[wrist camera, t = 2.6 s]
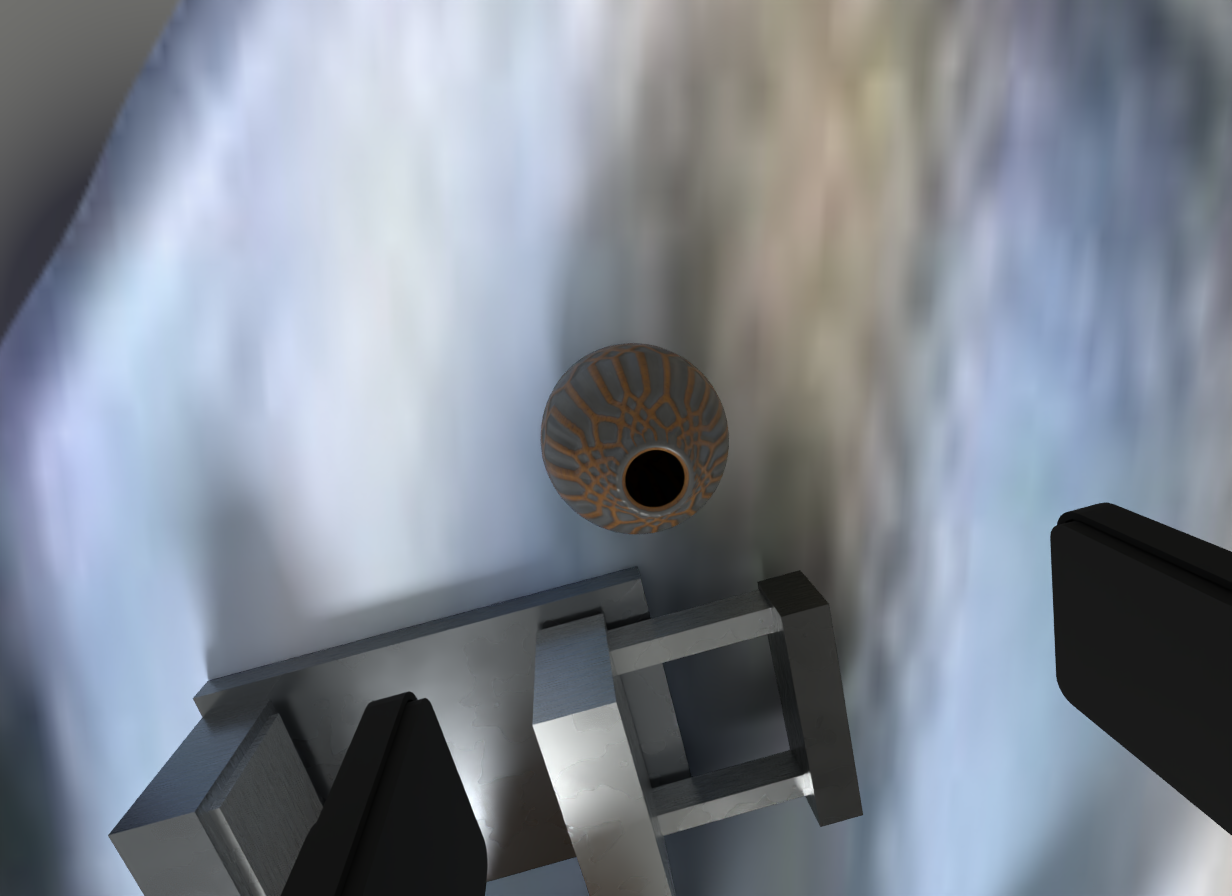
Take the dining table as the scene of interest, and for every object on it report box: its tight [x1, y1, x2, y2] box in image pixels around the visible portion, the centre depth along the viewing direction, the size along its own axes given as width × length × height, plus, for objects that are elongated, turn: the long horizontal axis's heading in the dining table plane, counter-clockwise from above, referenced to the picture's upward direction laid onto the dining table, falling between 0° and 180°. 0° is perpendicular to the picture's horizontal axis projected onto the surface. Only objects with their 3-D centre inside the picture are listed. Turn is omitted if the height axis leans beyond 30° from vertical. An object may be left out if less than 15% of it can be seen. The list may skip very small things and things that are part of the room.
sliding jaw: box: [533, 571, 863, 896], centre depth 26 cm, size 12×12×6 cm
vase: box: [541, 343, 729, 534], centre depth 22 cm, size 7×7×9 cm
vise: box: [108, 567, 691, 896], centre depth 27 cm, size 20×14×7 cm
